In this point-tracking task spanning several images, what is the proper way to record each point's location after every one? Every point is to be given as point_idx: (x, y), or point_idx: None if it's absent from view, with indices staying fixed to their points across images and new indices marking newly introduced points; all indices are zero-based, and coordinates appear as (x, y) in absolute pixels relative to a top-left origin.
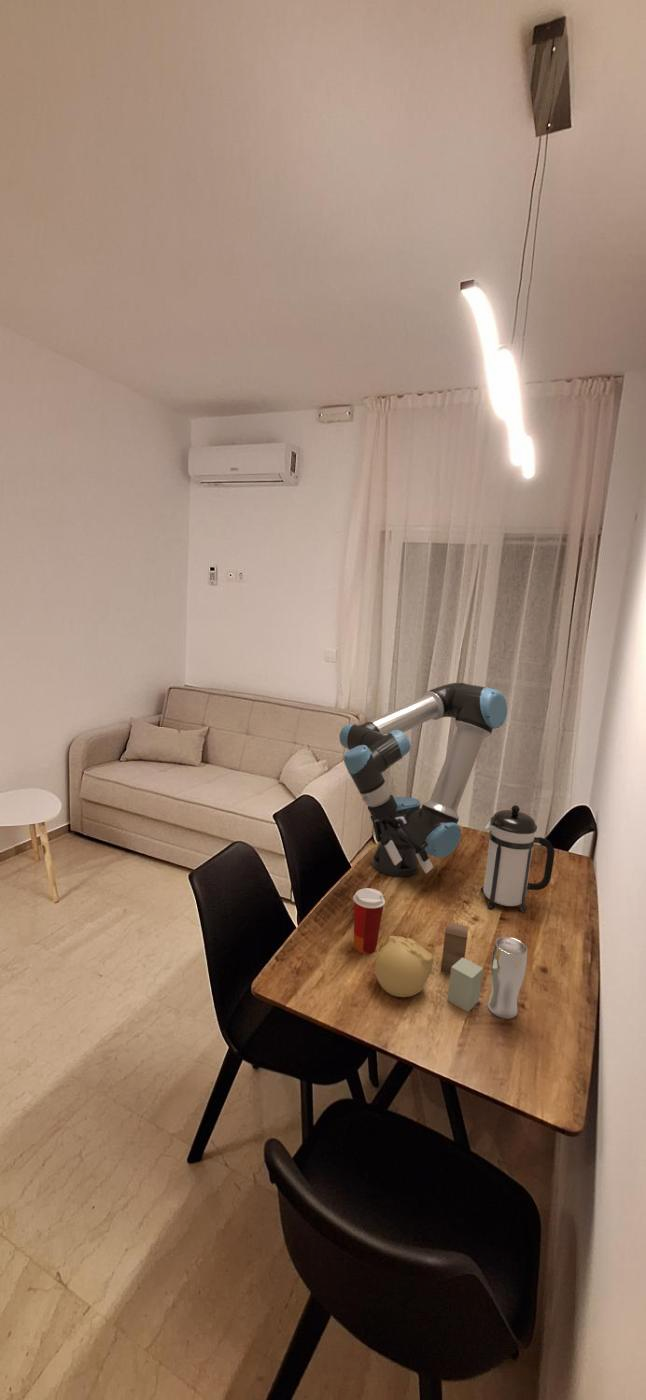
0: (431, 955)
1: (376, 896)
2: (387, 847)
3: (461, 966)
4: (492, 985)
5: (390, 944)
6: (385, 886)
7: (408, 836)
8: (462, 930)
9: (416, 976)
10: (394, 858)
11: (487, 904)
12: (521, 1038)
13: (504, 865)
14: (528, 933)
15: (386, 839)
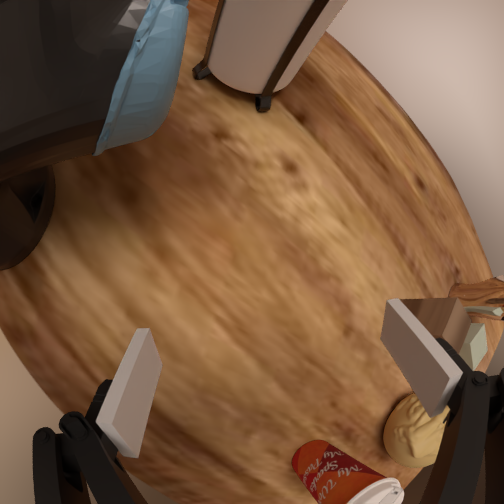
0: None
1: (388, 500)
2: (139, 444)
3: (477, 355)
4: (478, 316)
5: (434, 458)
6: (75, 299)
7: (487, 486)
8: (461, 317)
9: None
10: (152, 379)
11: (260, 108)
12: None
13: (319, 28)
14: (348, 120)
15: (125, 475)
